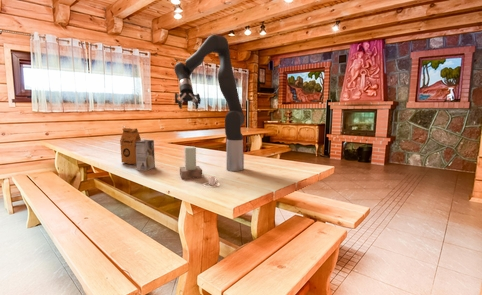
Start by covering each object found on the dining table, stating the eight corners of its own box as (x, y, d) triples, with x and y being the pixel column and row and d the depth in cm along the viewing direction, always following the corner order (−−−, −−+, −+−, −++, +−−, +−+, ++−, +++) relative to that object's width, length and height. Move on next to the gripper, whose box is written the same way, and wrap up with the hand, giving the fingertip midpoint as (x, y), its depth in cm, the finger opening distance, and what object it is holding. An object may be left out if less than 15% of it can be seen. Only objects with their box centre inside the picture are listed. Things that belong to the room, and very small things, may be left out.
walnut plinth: (198, 173, 143) (198, 165, 142) (202, 177, 133) (202, 170, 133) (179, 174, 139) (179, 167, 139) (182, 179, 130) (181, 171, 129)
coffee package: (133, 165, 158) (131, 129, 155) (119, 163, 163) (116, 128, 160) (146, 162, 167) (144, 127, 163) (132, 160, 172) (130, 127, 169)
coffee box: (145, 166, 157) (144, 139, 154) (155, 167, 156) (154, 140, 153) (136, 170, 148) (134, 141, 145) (146, 170, 147) (145, 142, 144)
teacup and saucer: (211, 181, 129) (211, 173, 128) (224, 184, 124) (224, 176, 123) (199, 185, 121) (199, 177, 121) (212, 189, 117) (212, 180, 116)
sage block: (194, 167, 139) (194, 146, 137) (196, 169, 134) (195, 147, 132) (185, 167, 137) (184, 146, 136) (186, 170, 133) (185, 148, 131)
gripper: (173, 82, 151) (176, 102, 142) (198, 83, 155) (202, 103, 147) (173, 92, 157) (175, 112, 148) (197, 93, 161) (200, 112, 152)
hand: (189, 107), depth 147 cm, fingers open, 8 cm apart
